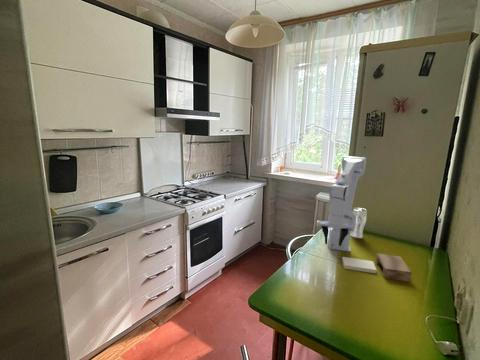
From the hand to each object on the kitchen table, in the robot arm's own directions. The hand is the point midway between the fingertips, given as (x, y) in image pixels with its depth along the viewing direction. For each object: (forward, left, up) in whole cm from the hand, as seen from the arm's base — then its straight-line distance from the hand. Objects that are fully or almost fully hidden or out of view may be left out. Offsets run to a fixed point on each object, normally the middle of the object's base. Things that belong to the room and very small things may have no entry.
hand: (332, 244), depth 106 cm
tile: (+11, 0, -9) cm, 14 cm away
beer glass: (+16, +32, -9) cm, 37 cm away
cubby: (+24, 0, -8) cm, 25 cm away
